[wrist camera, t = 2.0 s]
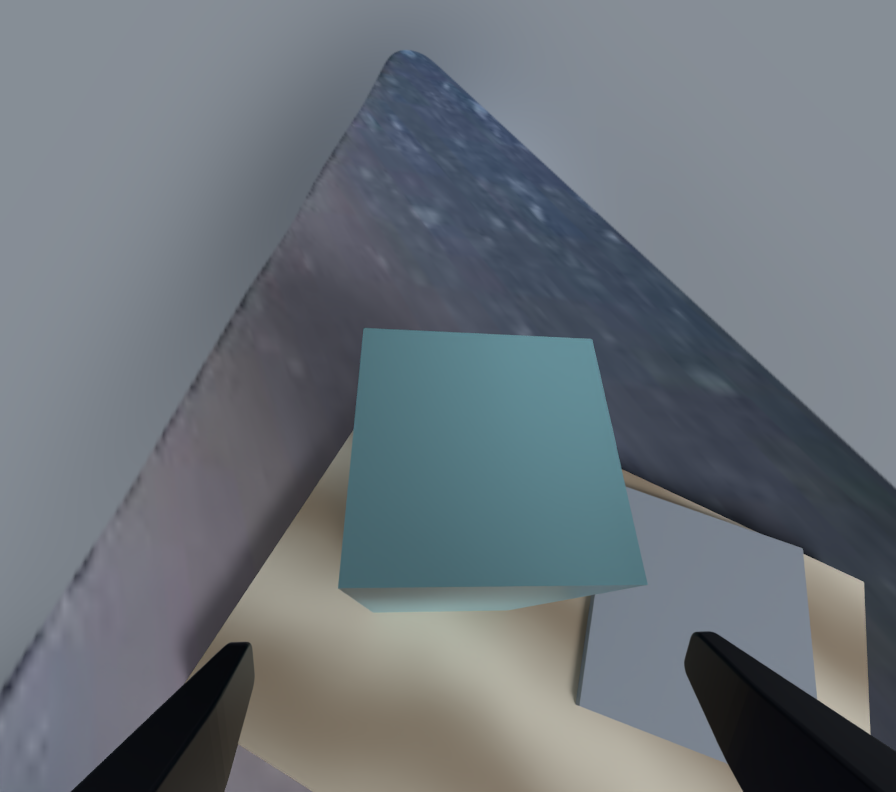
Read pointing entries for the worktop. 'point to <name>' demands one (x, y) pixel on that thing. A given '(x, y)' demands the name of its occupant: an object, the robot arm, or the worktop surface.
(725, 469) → the worktop surface
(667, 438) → the worktop surface
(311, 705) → the board
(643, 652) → the coaster
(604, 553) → the tall teal block
